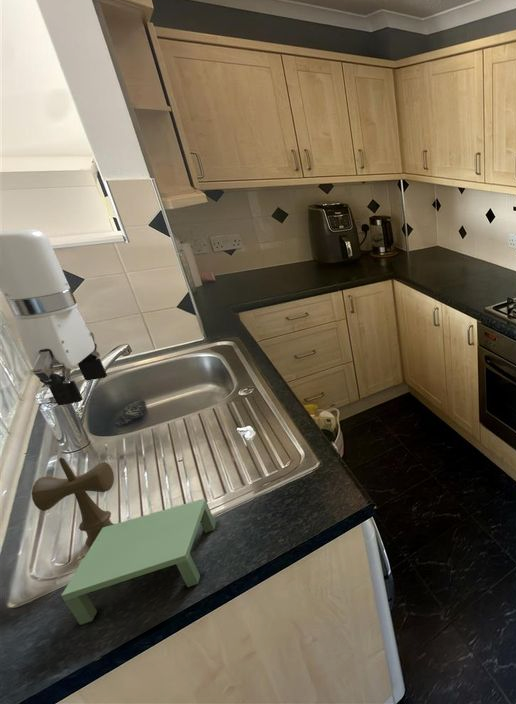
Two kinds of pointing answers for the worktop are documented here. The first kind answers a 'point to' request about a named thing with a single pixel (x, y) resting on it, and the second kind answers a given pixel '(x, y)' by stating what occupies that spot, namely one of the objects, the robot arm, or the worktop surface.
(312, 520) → the worktop surface
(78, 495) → the kendama
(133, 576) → the spice shelf
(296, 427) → the worktop surface
